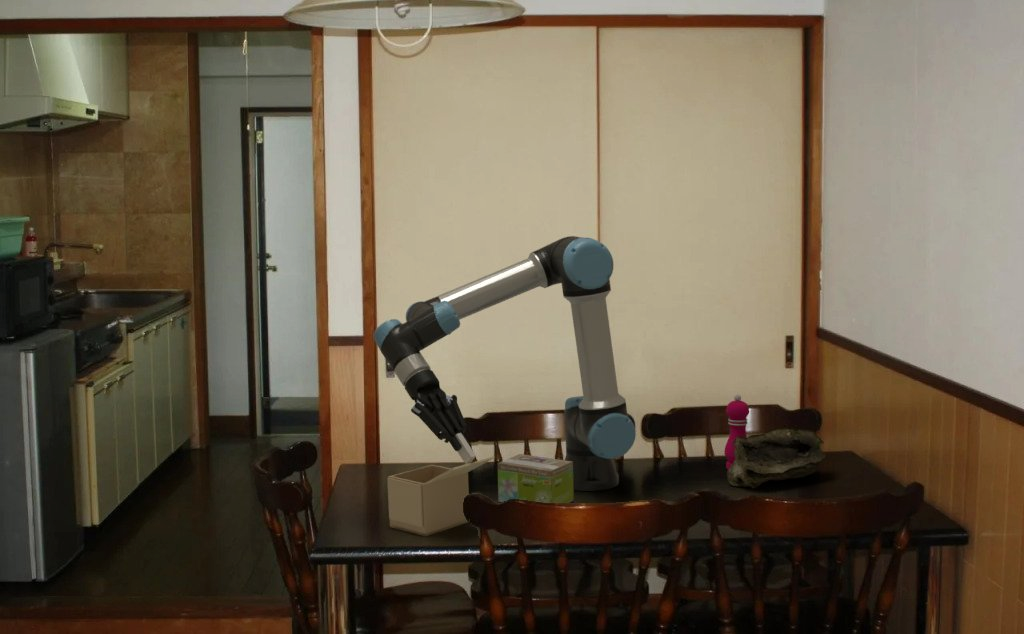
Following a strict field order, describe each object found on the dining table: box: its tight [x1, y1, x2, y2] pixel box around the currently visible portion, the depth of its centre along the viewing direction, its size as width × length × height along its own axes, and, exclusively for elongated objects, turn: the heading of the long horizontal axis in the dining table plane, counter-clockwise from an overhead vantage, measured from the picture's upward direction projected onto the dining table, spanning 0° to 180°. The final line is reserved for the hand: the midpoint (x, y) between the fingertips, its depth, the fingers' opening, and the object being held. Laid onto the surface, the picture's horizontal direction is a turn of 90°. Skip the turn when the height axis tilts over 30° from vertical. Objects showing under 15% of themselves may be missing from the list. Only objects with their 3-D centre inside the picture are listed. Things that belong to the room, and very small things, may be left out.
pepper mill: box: [723, 394, 750, 470], centre depth 323 cm, size 7×7×20 cm
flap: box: [426, 455, 495, 484], centre depth 272 cm, size 13×1×10 cm
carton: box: [386, 464, 470, 537], centre depth 281 cm, size 15×13×12 cm
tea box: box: [497, 453, 575, 504], centre depth 279 cm, size 15×10×15 cm
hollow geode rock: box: [726, 426, 827, 489], centre depth 310 cm, size 28×13×15 cm
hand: (470, 460), depth 269 cm, fingers closed
